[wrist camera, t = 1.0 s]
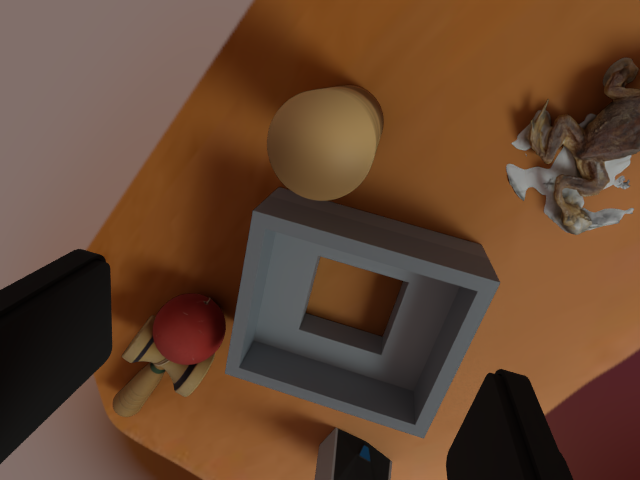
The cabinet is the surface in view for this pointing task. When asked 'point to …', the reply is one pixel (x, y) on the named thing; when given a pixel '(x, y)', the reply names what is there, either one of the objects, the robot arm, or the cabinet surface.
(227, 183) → the cabinet surface
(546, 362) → the cabinet surface
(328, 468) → the padlock
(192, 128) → the cabinet surface
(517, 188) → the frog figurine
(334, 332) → the peg box
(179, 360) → the kendama
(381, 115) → the peg
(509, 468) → the robot arm
